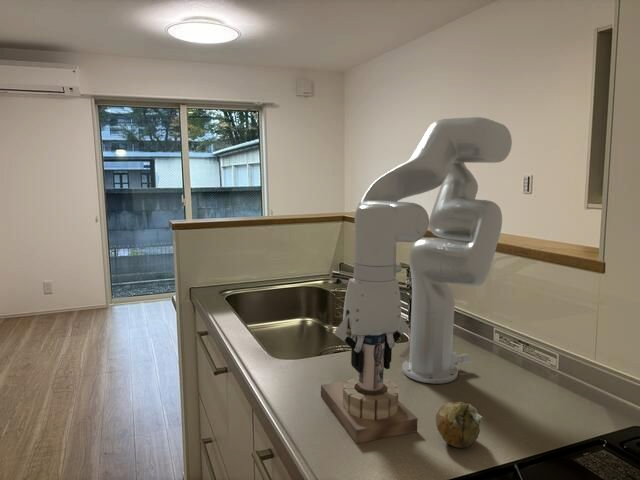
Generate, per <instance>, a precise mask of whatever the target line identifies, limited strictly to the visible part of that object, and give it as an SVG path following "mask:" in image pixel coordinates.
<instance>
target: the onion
mask: <svg viewBox="0 0 640 480" xmlns="http://www.w3.org/2000/svg"><path fill="white" fill-rule="evenodd" d="M484 420H485V418H484V417H483V416H482V415H480V414H479V412H478V410H477V408H475V406H473V405H472V404H471V403H468V402H466V403H465V402H464V401H459V402H457V401H454V402H447V403H444V404H442V405H441V407H440V408H439V409H438V411H437V413H436V415H435V424H436V428H437V429H436V430H437V431H438V433H439V434H440V436H441V437H442V439H443V441H444V442H446V443H447V444H449V446H450V445H451V446H452V447H455V448H460V449H461V448H467V447H469V446H471V445H472V444H474V443H475V442H476V440H477V439H478V437H479V434H480V431H481V429H480V426H481V425H480V424H481V423H483V422H484Z"/></svg>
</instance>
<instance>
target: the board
mask: <svg viewBox="0 0 640 480" xmlns="http://www.w3.org/2000/svg"><path fill="white" fill-rule="evenodd" d="M320 397H321V398H322V400H323V401H324V402H325V404H326V406H328V408H329V409H330V411H331V412H332V413H333V415H334V416H335V418H336V419H337V420H338V421H339V422H340V424H341V426H342V427H343V428H344V429H345V430H346V432H347V433H348V434H349V436H350V438H352V440H353V442H354V443H355V444H360V443H365V442H366V443H367V442H371V441H375V440H380V439H386V438H390V437H395V436H401V435H406V434H411V433H415V432H417V431H418V421H419V420H418V417H417V416H416V415H415V414H413V413H412V412H411V411H410V410H409V409H408V407H406V406H405V405H404V404H403V403H402V402H401V401H400V400H399V387H398V385H397V384H395V382H393V381H391V380H389V379H386V378H384V377H383V387H382V388H381V389H379V390H377V391H367V390H364V389H362V388H361V387H360V386H358V376H355V377H354V378H351V379H349V380H345V381H339V382H332V383H330V382H329V383H325V384H321V385H320Z"/></svg>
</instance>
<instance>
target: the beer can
mask: <svg viewBox="0 0 640 480" xmlns="http://www.w3.org/2000/svg"><path fill="white" fill-rule="evenodd" d="M384 346H385V333H381V332H380V331H377V332H375V333H373V334H371V335H368V336H364V340H363V344H362V347H361V351H362V352H363V353H364V356H363V372H362V373H359V372H358V371H357V377H358V386H360V387H361V388H362V389H364V390H367V391H377V390H379V389H381V388H382V387H383V378H384V369H385V368H384Z"/></svg>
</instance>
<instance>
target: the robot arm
mask: <svg viewBox="0 0 640 480" xmlns="http://www.w3.org/2000/svg"><path fill="white" fill-rule="evenodd" d="M512 142H513V141H512V134H511V132H510V129H509V128H507V126H506V125H504V124H503V123H500V122H498V121H494V120H492V119H489V118H486V117H478V116H473V117H472V116H471V117H455V118H453V117H452V118H445V119H444V118H441V119H438V120H436V121H434V122H433V123H431V124H430V125H429V126H428V128H427V129H426V131H425V132H424V135H423V136H422V137H421V138H420V141H419V142H418V144H417V146H416V148H414V151H413V152H412V154H411V156H410V157H409V159H408V160H407V161H405V162H404V163H401V164H399V165H398V166H396V167H394V168H393V169H391V170H390V171H387V173H385V174H382V175H381V176H380V177H379V178H377V179H376V180H374V181H373V183H372V184H370V186H369V187H368V188H367V190H366V191H365V193H364V195H363V197H362V198H361V200H360V201H359V203H358V206H357V208H356V210H355V214H354V246H353V249H354V251H353V277H352V278H349V279H348V283H347V287H346V290H345V296H344V303H343V312H342V313H343V314H342V315H343V316H342V321H341V322H340V324H339V325H338V327H337V328H336V329H335V331H334V335H335V336H336V337H337V338H338V339H340V340H341V341H343V342H344V343H346V344H347V345H348V346H349V347H350V349H351V351H350V352H351V353H350V355H351V358H350V359H351V360H350V364H351V367H352V368H353V369H355V371H356V372H357V373H358V372H359V373H362V372H363V356H364V353H363V352H362V351H361V347H362V344H363V340H364V336H368V335H371V334H373V333H375V332H377V331H380V332H381V333H385V346H384V369H385V370H389V369H390V367H391V362H392V354H393V353H392V351H393V350H392V349H393V348H395V345H396V343H397V342H398V340H399V339H400V338H401V336H402V335H403V334H405V333H406V332H407V331H408V330H409V329H410V332H409V333H410V335H409V336H410V338H409V339H410V341H409V359H407V360H405V361H403V363H402V367H401V368H402V371H401V372H403V374H404V375H405V376H407V377H408V378H410V379H412V380H413V381H417V382H419V383H420V382H421V383H424V384H425V383H427V384H434V385H435V384H438V385H439V384H447V383H450V382H453V381H455V380H456V379H457V378H458V376H459V375H458V373H459V371H458V368H457V367H456V366H457V365H458V364H462V363H469V361H470V356H469V354H468V353H462V354H458V352H457V351H453V337H454V335H453V334H454V321H455V305H456V304H455V303H456V301H455V298H454V293H453V292H452V290H451V288H450V286H449V284H454V285H459V286H460V285H461V286H466V287H480V286H481V285H483V284H484V283H485V282H486V280H487V278H488V276H489V273H490V270H491V267H492V263H493V260H494V257H495V253H496V250H497V246H498V243H499V240H500V236H501V232H502V226H503V215H502V209H501V207H500V206H499V205H498V204H497V203H496V202H494V201H491V200H487V199H476V197H477V194H478V189H479V188H478V187H479V185H478V182H477V180H476V178H475V176H474V175H473V173H472V172H471V171H470V169H468V167H467V166H466V163H467V164H468V163H483V164H484V163H486V164H487V163H491V164H492V163H494V164H495V163H497V164H498V163H502V162H503V161H505V160H506V159H507V158H508V156H509V155H510V152H511V149H512V144H513V143H512ZM439 187H440V188H439ZM437 188H439V191H438V194H437V196H436V199H435V201H434V204H433V208H432V210H431V214H430V216H429V214H428V211H427V210H426V209H425V207H423V206H422V205H421V204H418V203H415V202H408V201H407V202H406V201H401V200H403V199H407V198H410V197H413V196H416V195H421V194H424V193H427V192H429V191H432V190H435V189H437ZM428 229H429V230H430V232H431V234H432V235H434V236H436V237H424V236H425V235H426V233H427V231H428ZM423 237H424V238H423ZM398 243H413V244H412V245H411V247H410V249H409V253H408V254H409V255H408V257H409V258H408V262H409V269H410V277H411V309H410V310H411V314H410V328H409V325H408V323H407V322H406V321H405V319H404V318H403V316H402V301H401V300H402V299H401V298H402V297H401V291H400V285H399V281H398V279H396V277H397V274H398V273H401V272H402V266H401V264H397V244H398ZM349 330H350V332H351V333H350V335H351V336H349V335H348V334H347V331H349Z"/></svg>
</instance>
